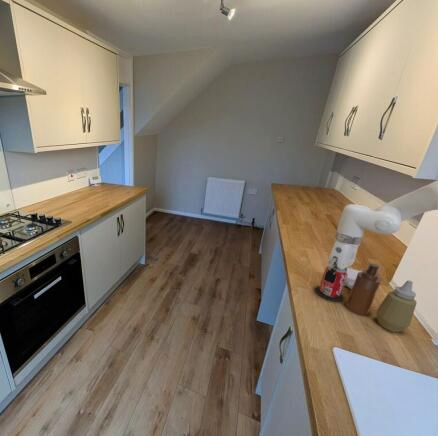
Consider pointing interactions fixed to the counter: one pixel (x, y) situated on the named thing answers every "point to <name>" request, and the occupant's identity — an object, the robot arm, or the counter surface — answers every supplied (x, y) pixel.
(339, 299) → the coaster
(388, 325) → the squeeze bottle
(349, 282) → the charger
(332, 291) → the soda can
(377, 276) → the stoneware bottle
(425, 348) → the counter surface
